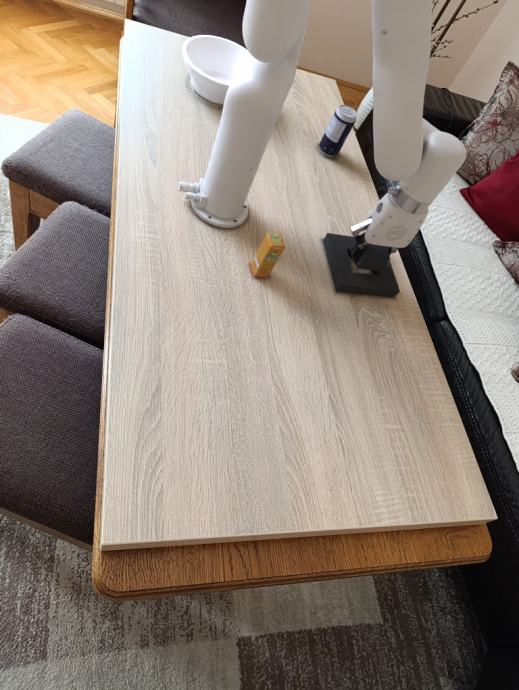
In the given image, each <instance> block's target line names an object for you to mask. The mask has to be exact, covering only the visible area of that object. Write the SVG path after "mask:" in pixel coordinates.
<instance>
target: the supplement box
mask: <svg viewBox="0 0 519 690" xmlns="http://www.w3.org/2000/svg"><path fill="white" fill-rule="evenodd" d="M285 248H286V243H285V240H284V237H283V233H270V232H269V233H268V232H267V233H266V234H265V236H264V238H263V240H262V241H261V244H260V246H259V248H258V249H257V251H256V253H255V255H254V257H253V259H252V260H251V261H252V262H251V263H250V267H251V271H252V274H253V278H268V277H269V276H270V274H271V272H272V271H273V269H274V268H275V266H276V264H277V262H278V260H279V259H280V257H281V255H282V254H283V252H284V250H285Z"/></svg>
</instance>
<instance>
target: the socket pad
mask: <svg viewBox="0 0 519 690" xmlns="http://www.w3.org/2000/svg"><path fill="white" fill-rule="evenodd" d="M354 243H355V238H354V237H353V235H352V236H350V235H344V234H337V233H332V232H331V233H330V232H327V233H326V234H325V235H324V237H323V239H322V244H323V248H324V252H325V255H326V259H327V264H328V267H329V270H330V275H331V279H332V282H333V288H334V292H335V293H339V294H351V295H360V296H370V297H371V296H372V297H379V298H380V297H382V298H390V299H395V298H396V297H397V296H398V295H399V293H400V292H401V291H400V287H399V283H398V280H397V278H396V275H395V272H394V269H393V266H392V262H391V260H390V259H391V258H390V259H389V260H388V262H387V263H386V264H385V265H384V267H383V268H382V269H381V270H380V271H373V270H370V272H371V273H366V272H365V273H364V272H355V271H354V270H353V266H352V262H351V258H352V256H351V253H350V251H351V247H352V246H353V244H354Z"/></svg>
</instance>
